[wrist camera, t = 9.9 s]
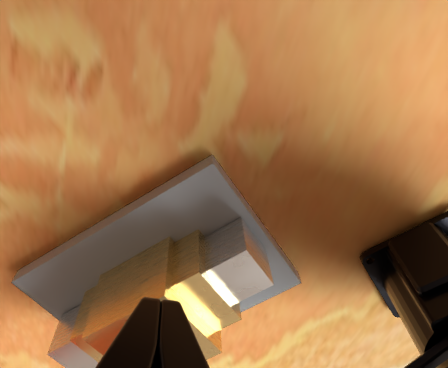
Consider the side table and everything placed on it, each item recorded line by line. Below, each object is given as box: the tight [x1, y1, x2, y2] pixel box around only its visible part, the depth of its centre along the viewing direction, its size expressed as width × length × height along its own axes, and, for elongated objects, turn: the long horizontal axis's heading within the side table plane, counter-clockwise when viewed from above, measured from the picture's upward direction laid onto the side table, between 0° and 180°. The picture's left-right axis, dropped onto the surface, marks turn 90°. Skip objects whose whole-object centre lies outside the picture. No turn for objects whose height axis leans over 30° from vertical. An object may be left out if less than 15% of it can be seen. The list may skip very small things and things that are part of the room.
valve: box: [47, 218, 274, 368], centre depth 23 cm, size 5×13×6 cm, turn 122°
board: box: [11, 155, 301, 320], centre depth 25 cm, size 10×14×1 cm
